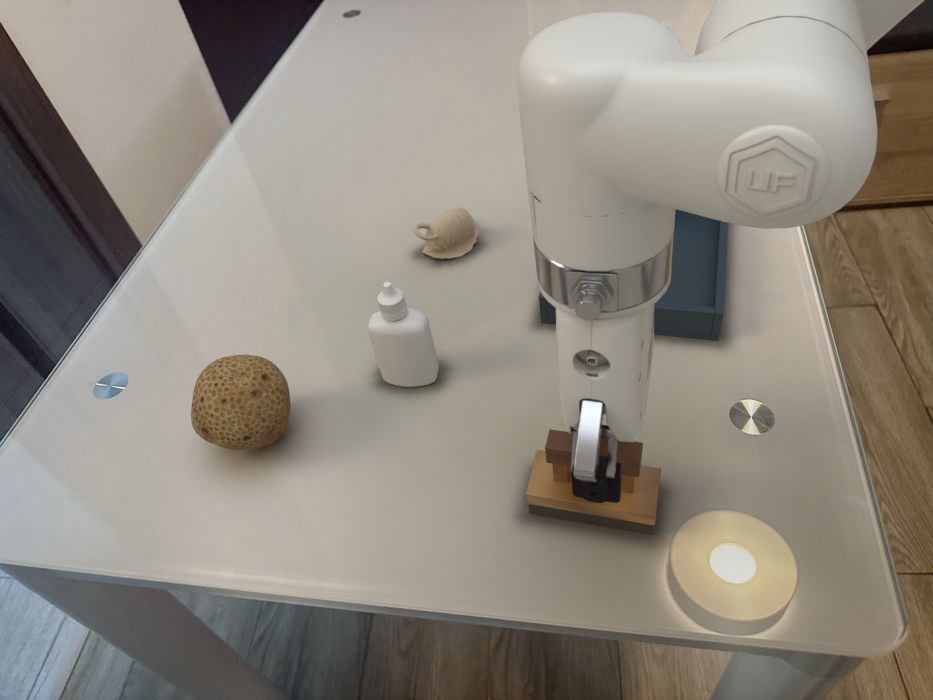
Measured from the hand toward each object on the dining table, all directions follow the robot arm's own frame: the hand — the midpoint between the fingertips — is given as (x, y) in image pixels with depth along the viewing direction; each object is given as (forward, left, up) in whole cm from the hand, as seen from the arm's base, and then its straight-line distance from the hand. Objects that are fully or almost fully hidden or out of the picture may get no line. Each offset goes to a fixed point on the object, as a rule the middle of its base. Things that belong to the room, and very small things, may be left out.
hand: (606, 439), depth 52 cm
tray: (+1, -31, -9) cm, 32 cm away
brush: (+1, 0, -9) cm, 9 cm away
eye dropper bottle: (+21, -11, -9) cm, 25 cm away
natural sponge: (+33, -1, -9) cm, 34 cm away
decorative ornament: (+23, -31, -9) cm, 40 cm away
